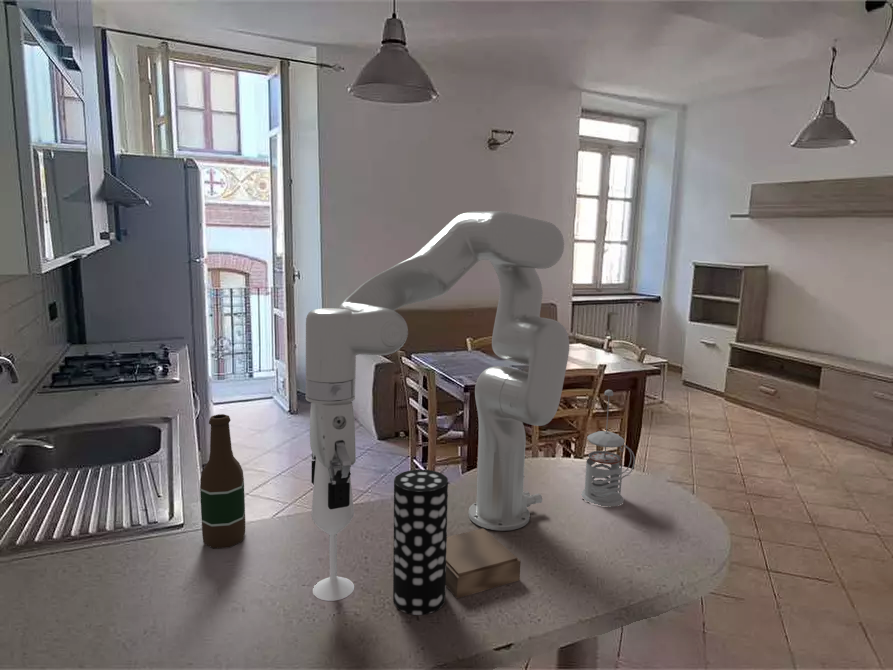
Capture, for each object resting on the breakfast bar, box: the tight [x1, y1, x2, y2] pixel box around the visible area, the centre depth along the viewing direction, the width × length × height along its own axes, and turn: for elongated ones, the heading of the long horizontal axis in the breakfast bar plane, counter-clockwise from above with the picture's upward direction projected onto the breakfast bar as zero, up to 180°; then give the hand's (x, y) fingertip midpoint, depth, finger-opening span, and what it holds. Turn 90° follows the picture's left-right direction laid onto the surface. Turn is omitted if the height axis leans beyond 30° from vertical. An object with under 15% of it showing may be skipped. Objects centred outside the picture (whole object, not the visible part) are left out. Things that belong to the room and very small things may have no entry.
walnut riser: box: [446, 527, 522, 599], centre depth 101 cm, size 12×12×4 cm
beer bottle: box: [199, 413, 246, 550], centre depth 108 cm, size 8×8×24 cm
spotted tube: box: [392, 469, 449, 616], centre depth 92 cm, size 8×8×20 cm
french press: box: [581, 389, 636, 507], centre depth 130 cm, size 10×12×25 cm
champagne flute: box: [310, 456, 355, 602], centre depth 94 cm, size 7×7×24 cm
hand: (329, 494), depth 93 cm, fingers open, 9 cm apart
